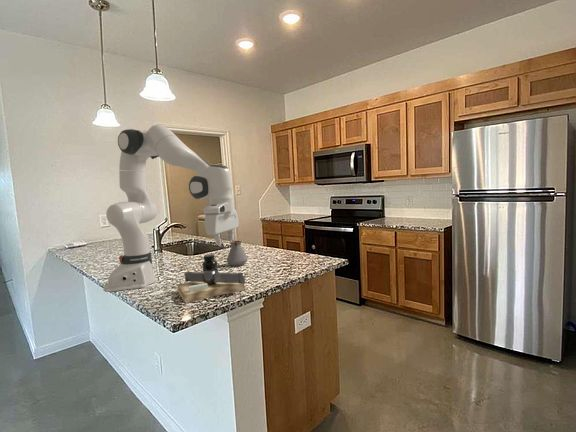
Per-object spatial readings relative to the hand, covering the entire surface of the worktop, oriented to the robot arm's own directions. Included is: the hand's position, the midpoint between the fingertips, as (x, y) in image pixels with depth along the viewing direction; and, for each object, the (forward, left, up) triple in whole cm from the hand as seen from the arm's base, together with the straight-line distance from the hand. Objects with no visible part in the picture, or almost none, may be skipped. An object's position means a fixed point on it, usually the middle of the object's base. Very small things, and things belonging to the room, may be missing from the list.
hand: (224, 242), depth 126 cm
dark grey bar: (-3, +10, -18) cm, 21 cm away
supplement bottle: (0, +26, -22) cm, 34 cm away
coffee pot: (+19, +44, -22) cm, 53 cm away
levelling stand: (-4, +11, -21) cm, 24 cm away
